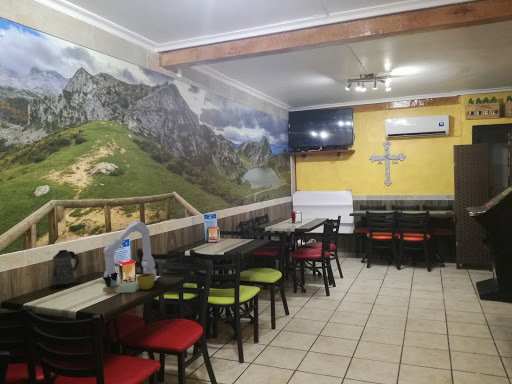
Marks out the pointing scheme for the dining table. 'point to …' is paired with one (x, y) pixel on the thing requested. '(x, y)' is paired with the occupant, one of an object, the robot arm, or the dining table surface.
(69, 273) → the beer stein
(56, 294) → the dining table surface
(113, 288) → the stand
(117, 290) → the grey-green flat piece
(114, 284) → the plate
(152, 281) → the flower pot
